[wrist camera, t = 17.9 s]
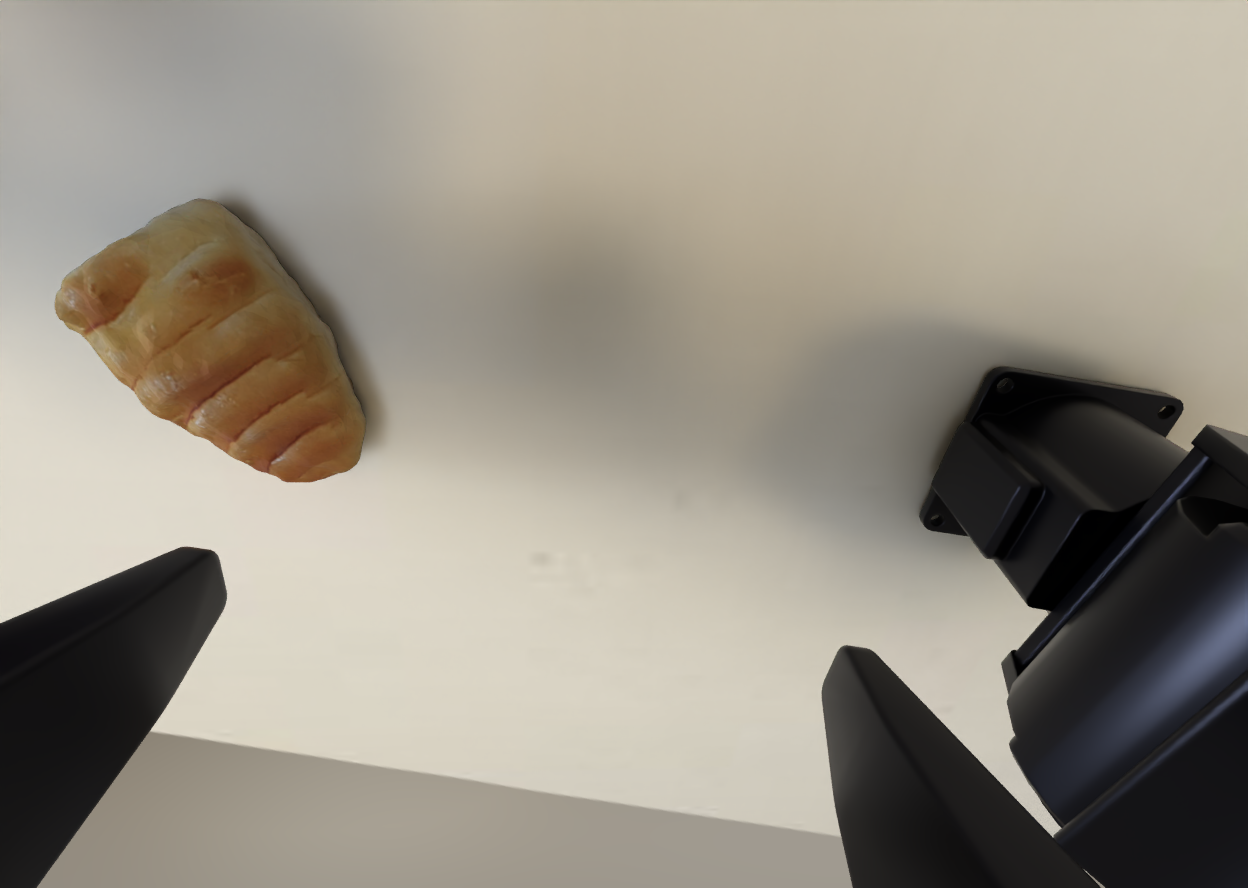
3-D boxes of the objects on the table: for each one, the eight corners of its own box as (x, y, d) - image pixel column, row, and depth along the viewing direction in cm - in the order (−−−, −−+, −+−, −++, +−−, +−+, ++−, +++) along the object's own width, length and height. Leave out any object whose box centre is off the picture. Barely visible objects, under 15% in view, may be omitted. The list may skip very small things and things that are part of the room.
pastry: (425, 411, 22) (382, 465, 18) (301, 490, 24) (242, 551, 20) (221, 174, 18) (121, 188, 15) (95, 291, 20) (-17, 326, 17)
